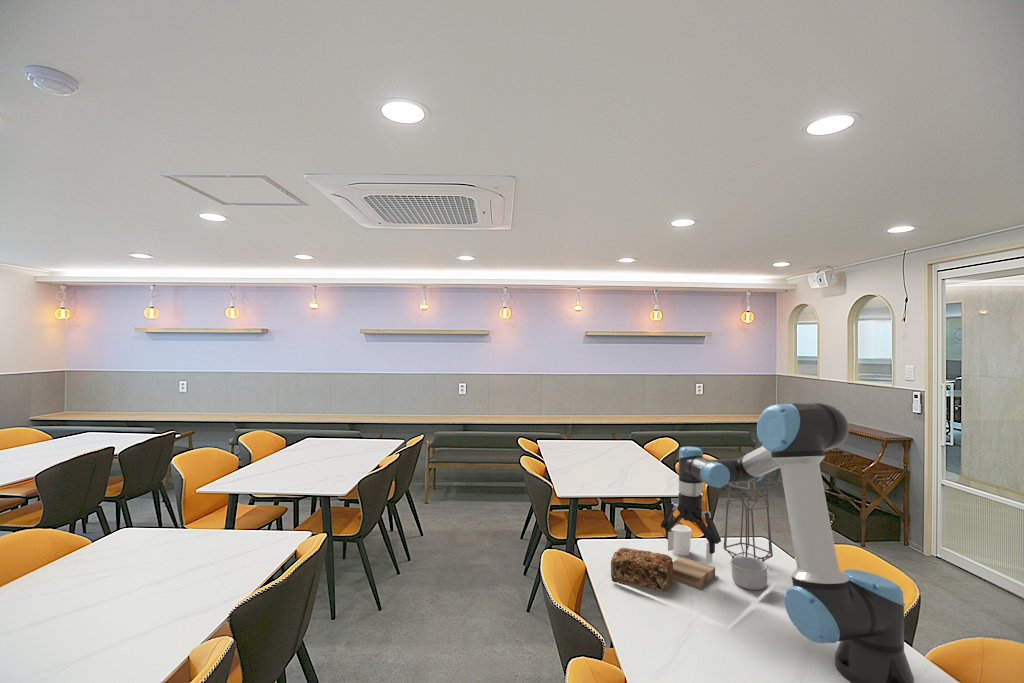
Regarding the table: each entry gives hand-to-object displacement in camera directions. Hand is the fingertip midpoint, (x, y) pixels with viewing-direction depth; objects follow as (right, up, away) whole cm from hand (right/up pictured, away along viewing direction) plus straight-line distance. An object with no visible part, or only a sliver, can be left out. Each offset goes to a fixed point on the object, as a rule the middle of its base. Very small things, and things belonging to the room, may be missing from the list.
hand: (689, 556), depth 166 cm
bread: (-17, -8, -3) cm, 19 cm away
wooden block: (0, -7, 0) cm, 7 cm away
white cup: (+4, -8, +20) cm, 22 cm away
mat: (0, -8, -1) cm, 8 cm away
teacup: (+18, -8, -4) cm, 20 cm away
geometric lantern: (+26, -8, +12) cm, 29 cm away
